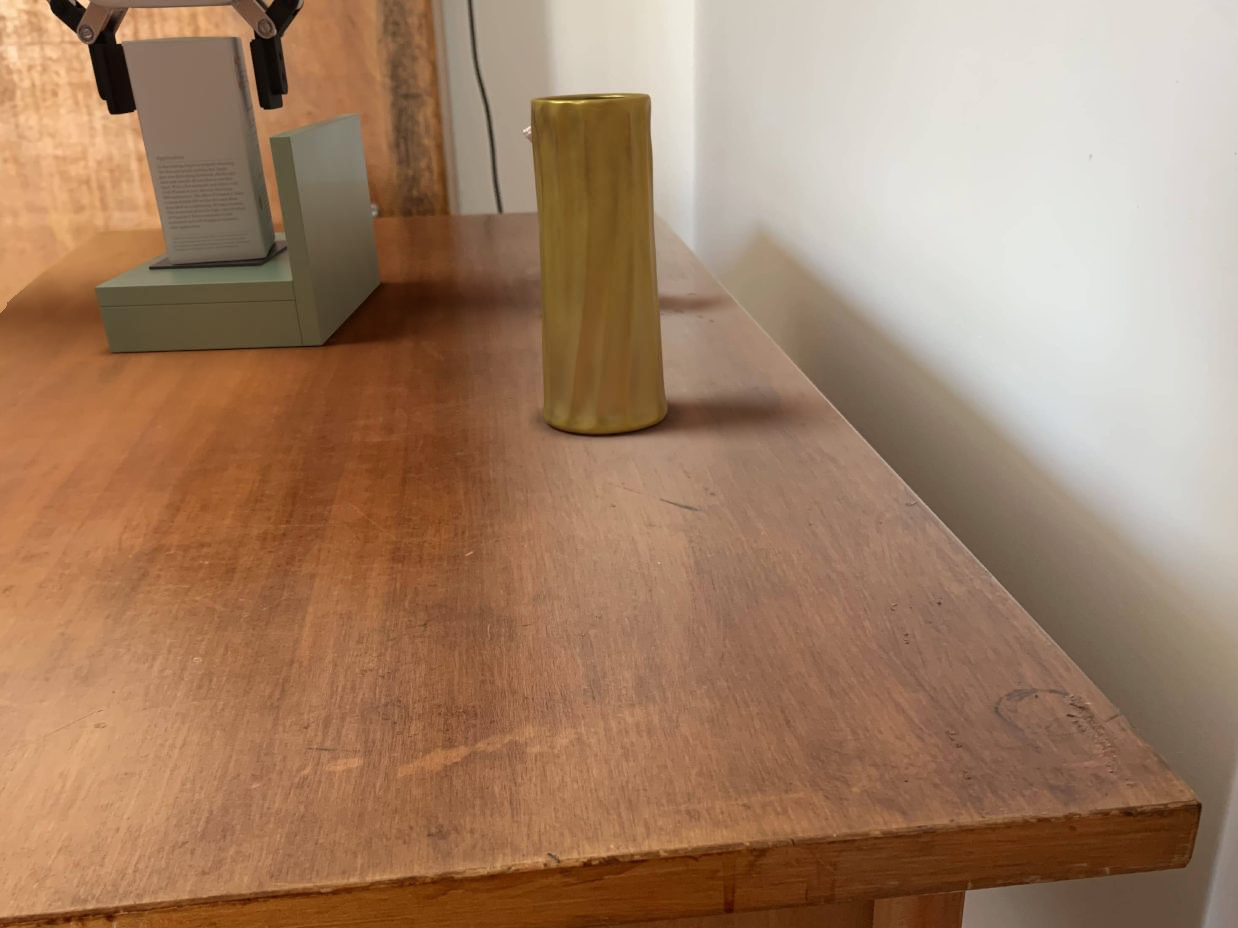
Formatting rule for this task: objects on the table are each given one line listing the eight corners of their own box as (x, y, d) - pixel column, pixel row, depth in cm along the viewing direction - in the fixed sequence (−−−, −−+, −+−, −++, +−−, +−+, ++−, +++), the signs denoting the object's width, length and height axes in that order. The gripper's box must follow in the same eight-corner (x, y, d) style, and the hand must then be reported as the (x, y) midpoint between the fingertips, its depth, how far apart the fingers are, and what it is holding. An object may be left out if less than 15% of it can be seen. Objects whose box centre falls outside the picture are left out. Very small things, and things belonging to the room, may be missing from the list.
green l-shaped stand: (110, 352, 72) (59, 143, 67) (210, 289, 90) (177, 119, 85) (322, 345, 72) (289, 136, 67) (381, 283, 90) (359, 113, 84)
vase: (518, 417, 58) (492, 99, 51) (614, 392, 61) (602, 91, 54) (594, 444, 53) (577, 102, 47) (693, 416, 57) (690, 93, 50)
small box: (184, 246, 82) (143, 38, 76) (277, 240, 83) (243, 35, 77) (166, 265, 75) (118, 38, 69) (268, 259, 76) (229, 35, 70)
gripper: (-45, -222, 64) (38, 119, 72) (270, -233, 64) (318, 110, 72) (17, -199, 71) (87, 111, 79) (303, -208, 71) (344, 103, 79)
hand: (198, 110), depth 75 cm, fingers open, 9 cm apart
